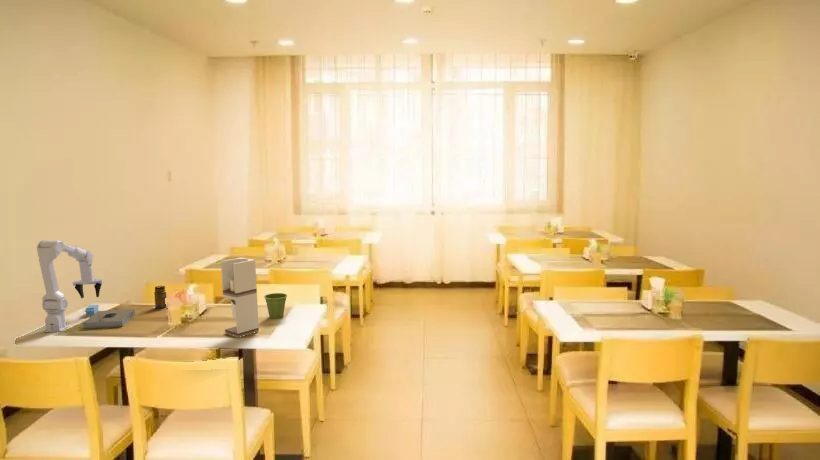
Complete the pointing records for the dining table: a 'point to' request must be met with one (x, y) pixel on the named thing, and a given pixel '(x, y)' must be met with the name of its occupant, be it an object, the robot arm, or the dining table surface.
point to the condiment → (160, 298)
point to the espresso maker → (241, 294)
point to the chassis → (109, 319)
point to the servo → (91, 310)
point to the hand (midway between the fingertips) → (90, 297)
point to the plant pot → (275, 304)
